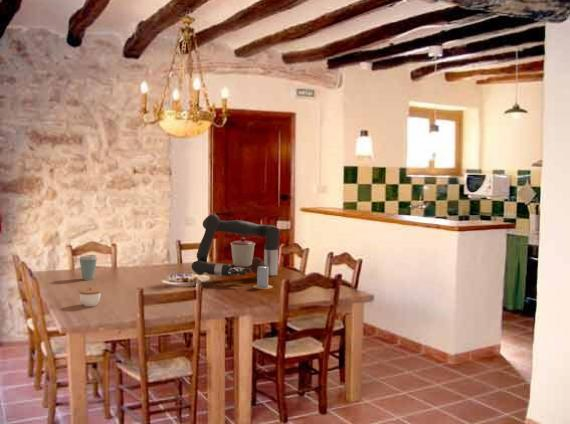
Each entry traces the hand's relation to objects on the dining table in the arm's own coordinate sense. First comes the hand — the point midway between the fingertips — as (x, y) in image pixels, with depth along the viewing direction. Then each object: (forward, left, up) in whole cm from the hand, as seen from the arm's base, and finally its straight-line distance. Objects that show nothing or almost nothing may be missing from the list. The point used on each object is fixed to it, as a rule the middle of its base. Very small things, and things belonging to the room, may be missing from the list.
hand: (247, 272), depth 365 cm
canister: (-65, -28, -9) cm, 72 cm away
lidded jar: (+76, -58, -9) cm, 96 cm away
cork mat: (0, +10, -9) cm, 13 cm away
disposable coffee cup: (+19, -99, -9) cm, 101 cm away
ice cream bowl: (-20, 0, -9) cm, 22 cm away
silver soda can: (0, +10, -8) cm, 13 cm away
